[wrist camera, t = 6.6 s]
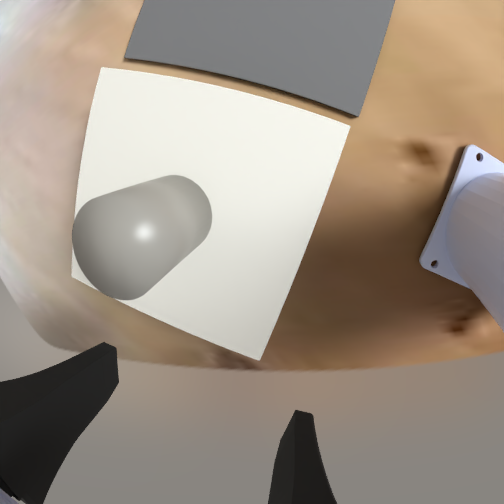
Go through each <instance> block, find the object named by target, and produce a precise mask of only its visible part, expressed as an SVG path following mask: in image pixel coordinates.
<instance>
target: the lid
mask: <svg viewBox="0 0 504 504" xmlns="http://www.w3.org/2000/svg"><path fill="white" fill-rule="evenodd" d="M349 129H350V126H349V125H346V124H344V123H341V122H338V121H335V120H333V119H330V118H327V117H324V116H321V115H318V114H315V113H312V112H310V111H306V110H303V109H300V108H297V107H294V106H291V105H288V104H284V103H281V102H278V101H274V100H271V99H267V98H264V97H260V96H256V95H253V94H249V93H245V92H241V91H237V90H233V89H229V88H225V87H220V86H216V85H211V84H207V83H202V82H197V81H192V80H187V79H182V78H176V77H171V76H165V75H159V74H152V73H145V72H138V71H131V70H122V69H113V68H103V67H101V71H100V75H99V78H98V82H97V86H96V90H95V94H94V98H93V102H92V107H91V111H90V116H89V121H88V126H87V131H86V136H85V142H84V147H83V153H82V160H81V166H80V173H79V181H78V189H77V197H76V207H75V218H74V224H73V230H72V243H73V248H72V277H73V278H75V279H77V280H79V281H81V282H83V283H84V284H86V285H88V286H90V287H92V288H94V289H96V290H98V291H100V292H102V293H104V294H105V295H107V296H109V297H112V298H114V299H116V300H118V301H120V302H122V303H124V304H126V305H128V306H130V307H132V308H134V309H137V310H139V311H141V312H143V313H145V314H147V315H149V316H152V317H154V318H156V319H158V320H160V321H163V322H165V323H167V324H169V325H172V326H174V327H176V328H178V329H181V330H183V331H185V332H188V333H190V334H192V335H195V336H197V337H200V338H202V339H204V340H207V341H209V342H212V343H214V344H217V345H219V346H222V347H224V348H227V349H229V350H232V351H234V352H237V353H240V354H242V355H245V356H248V357H250V358H253V359H256V360H258V361H260V359H261V357H262V354H263V352H264V350H265V347H266V345H267V343H268V340H269V338H270V336H271V333H272V331H273V329H274V326H275V324H276V322H277V319H278V317H279V314H280V312H281V310H282V307H283V305H284V302H285V300H286V297H287V295H288V293H289V290H290V288H291V285H292V283H293V280H294V278H295V275H296V273H297V270H298V268H299V265H300V263H301V260H302V258H303V255H304V252H305V250H306V247H307V245H308V242H309V240H310V237H311V234H312V232H313V229H314V226H315V224H316V221H317V219H318V216H319V213H320V211H321V208H322V205H323V202H324V200H325V197H326V194H327V192H328V189H329V186H330V183H331V180H332V178H333V175H334V172H335V169H336V166H337V164H338V161H339V158H340V155H341V152H342V149H343V146H344V144H345V141H346V138H347V135H348V132H349Z"/></svg>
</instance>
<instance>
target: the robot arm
mask: <svg viewBox="0 0 504 504" xmlns="http://www.w3.org/2000/svg"><path fill="white" fill-rule="evenodd" d="M477 153H479V154H480V156H481V158H480V160H479V161H477V159H476V155H477ZM434 260H437V263H436V265H434V266H431V263H432V261H434ZM419 261H420V264H421V266H422V267H423V268H425V269H427V270H429V271H431V272H434V273H436V274H438V275H441V276H443V277H445V278H447V279H449V280H452V281H454V282H456V283H458V284H461V285H463V286H465V287H467V288H469V289H471V290H472V291H473V292H474V293H475V295H476V296H477V297H478V298H479V300H480V301H481V302H482V303H483V305H484V306H485V307H486V309H487V310H488V311H489V313H490V314H491V315H492V317H493V318H494V319H495V321H496V322H497V323H498V325H499V326H500V328H501V329H502V330H503V332H504V163H502V162H501V161H499V160H498V159H496V158H494V157H493V156H491V155H490V154H488V153H487V152H485V151H483V150H482V149H480V148H479V147H477V146H475V145H467V146H466V147H465V149H464V152H463V155H462V158H461V160H460V163H459V166H458V169H457V171H456V174H455V177H454V180H453V182H452V185H451V187H450V190H449V192H448V195H447V197H446V200H445V202H444V205H443V207H442V209H441V212H440V214H439V217H438V219H437V221H436V223H435V226H434V228H433V230H432V232H431V235H430V237H429V239H428V241H427V243H426V245H425V247H424V250H423V252H422V254H421V256H420V259H419ZM118 383H119V378H118V366H117V350H116V347H114V346H112V345H109V344H107V343H105V342H103V343H101V344H99V345H97V346H95V347H93V348H91V349H89V350H86V351H84V352H82V353H80V354H78V355H76V356H74V357H72V358H70V359H68V360H66V361H64V362H62V363H59V364H57V365H54V366H52V367H49V368H47V369H45V370H42V371H40V372H37V373H34V374H31V375H27V376H24V377H20V378H17V379H13V380H8V381H3V382H0V504H18V503H17V502H16V501H15V500H13V499H12V498H11V497H12V496H13V497H15V498H16V499H17V500H19V501H20V500H22V501H23V502H24V503H26V504H43V502H44V500H45V497H46V495H47V492H48V490H49V488H50V486H51V484H52V482H53V480H54V478H55V476H56V474H57V472H58V470H59V468H60V466H61V465H62V463H63V461H64V459H65V457H66V456H67V454H68V452H69V451H70V449H71V447H72V446H73V444H74V443H75V441H76V440H77V439H78V437H79V436H80V435H81V433H82V432H83V431H84V430H85V428H86V427H87V426H88V425H89V423H90V422H91V421H92V420H93V419H94V417H95V416H96V415H97V414H98V412H99V411H100V410H101V409H102V407H103V406H104V405H105V404H106V402H107V401H108V399H109V398H110V396H111V395H112V393H113V391H114V389H115V388H116V386H117V385H118ZM268 504H337V502H336V500H335V498H334V495H333V493H332V490H331V488H330V485H329V482H328V479H327V476H326V473H325V469H324V466H323V463H322V459H321V455H320V452H319V447H318V442H317V437H316V432H315V426H314V418H313V415H312V414H311V413H307V412H302V411H298V410H295V412H294V414H293V416H292V418H291V420H290V422H289V424H288V427H287V428H286V430H285V432H284V434H283V436H282V438H281V440H280V444H279V448H278V451H277V455H276V459H275V463H274V469H273V475H272V482H271V488H270V494H269V501H268Z"/></svg>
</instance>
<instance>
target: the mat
mask: <svg viewBox="0 0 504 504" xmlns="http://www.w3.org/2000/svg"><path fill="white" fill-rule="evenodd" d="M394 3H395V0H145V1H144V3H143V6H142V8H141V11H140V13H139V16H138V19H137V21H136V24H135V27H134V30H133V33H132V35H131V38H130V41H129V44H128V47H127V50H126V53H125V57H124V58H128V59H136V60H144V61H151V62H158V63H165V64H171V65H177V66H182V67H188V68H193V69H198V70H203V71H208V72H213V73H217V74H222V75H226V76H230V77H234V78H238V79H242V80H246V81H250V82H254V83H258V84H261V85H265V86H269V87H272V88H275V89H279V90H282V91H285V92H289V93H292V94H295V95H298V96H301V97H304V98H307V99H310V100H313V101H316V102H319V103H322V104H325V105H328V106H330V107H333V108H336V109H339V110H341V111H344V112H346V113H349V114H352V115H354V116H357V117H359V115H360V112H361V109H362V106H363V103H364V100H365V97H366V94H367V91H368V88H369V85H370V82H371V79H372V76H373V72H374V69H375V66H376V63H377V60H378V57H379V53H380V50H381V47H382V44H383V40H384V37H385V34H386V30H387V27H388V24H389V20H390V17H391V13H392V10H393V6H394Z"/></svg>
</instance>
